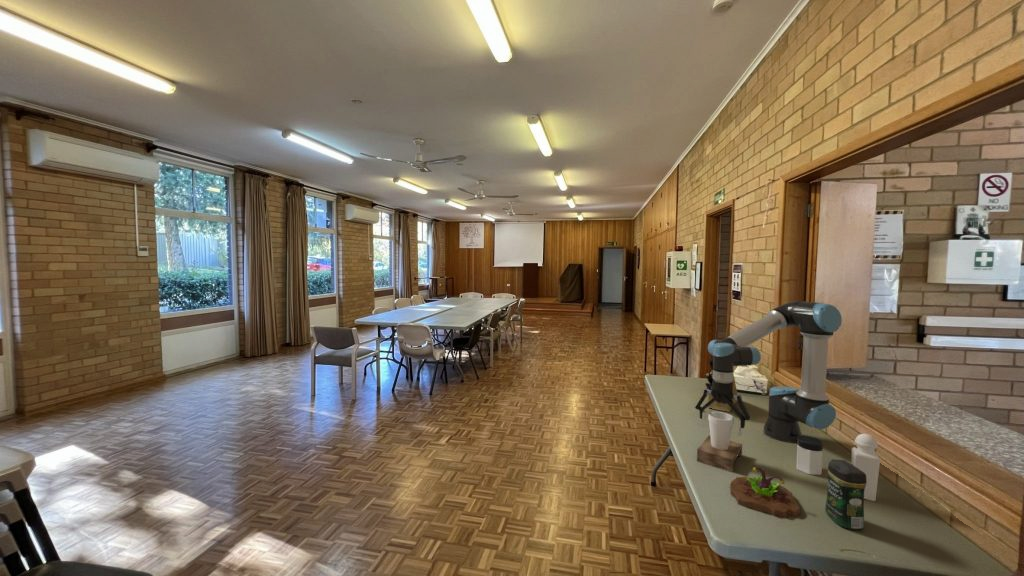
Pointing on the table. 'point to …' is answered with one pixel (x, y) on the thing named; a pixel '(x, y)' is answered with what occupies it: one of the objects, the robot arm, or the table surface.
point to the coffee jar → (845, 494)
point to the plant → (764, 495)
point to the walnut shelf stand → (718, 454)
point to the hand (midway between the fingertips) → (721, 430)
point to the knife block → (709, 386)
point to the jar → (809, 455)
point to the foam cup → (720, 429)
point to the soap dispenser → (867, 463)
